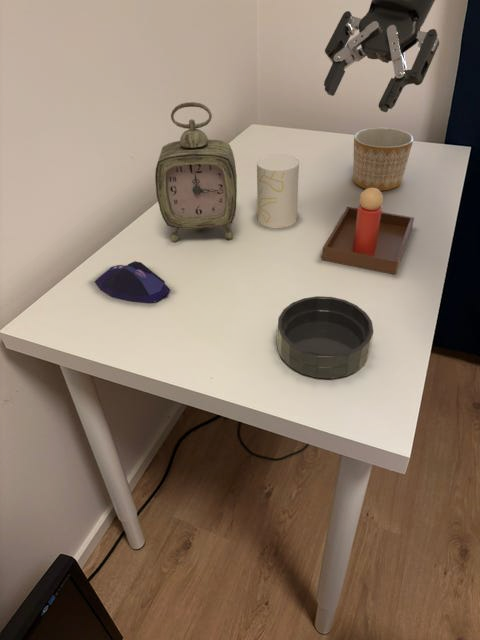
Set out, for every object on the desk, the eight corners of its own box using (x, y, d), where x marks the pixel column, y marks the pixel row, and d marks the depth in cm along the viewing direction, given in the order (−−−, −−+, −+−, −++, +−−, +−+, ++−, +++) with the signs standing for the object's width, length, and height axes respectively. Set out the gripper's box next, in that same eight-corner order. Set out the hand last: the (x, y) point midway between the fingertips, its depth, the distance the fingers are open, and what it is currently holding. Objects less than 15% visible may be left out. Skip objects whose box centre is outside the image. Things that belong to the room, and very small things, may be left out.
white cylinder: (249, 217, 102) (248, 161, 94) (279, 206, 105) (279, 151, 98) (275, 232, 97) (275, 174, 89) (304, 219, 100) (307, 162, 93)
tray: (346, 218, 100) (347, 206, 98) (411, 229, 96) (414, 217, 94) (321, 260, 88) (322, 247, 87) (395, 274, 84) (397, 262, 82)
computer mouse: (122, 261, 90) (117, 242, 88) (186, 283, 84) (183, 264, 81) (85, 287, 84) (80, 267, 82) (152, 312, 78) (148, 292, 75)
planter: (339, 185, 113) (343, 139, 106) (365, 167, 120) (371, 124, 113) (389, 198, 106) (397, 151, 100) (414, 179, 113) (423, 134, 107)
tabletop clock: (164, 246, 94) (143, 111, 78) (169, 224, 101) (150, 96, 85) (239, 243, 94) (232, 108, 78) (238, 221, 101) (233, 92, 85)
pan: (348, 313, 76) (351, 290, 73) (384, 371, 66) (389, 347, 63) (268, 327, 74) (268, 303, 71) (292, 388, 64) (293, 364, 61)
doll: (369, 245, 90) (379, 182, 82) (378, 256, 87) (389, 192, 79) (349, 248, 90) (356, 185, 82) (357, 259, 87) (366, 195, 79)
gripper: (357, -47, 63) (301, 76, 67) (462, -32, 57) (395, 103, 60) (372, -11, 70) (321, 99, 73) (468, 6, 63) (407, 126, 67)
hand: (354, 101), depth 67 cm, fingers open, 8 cm apart
